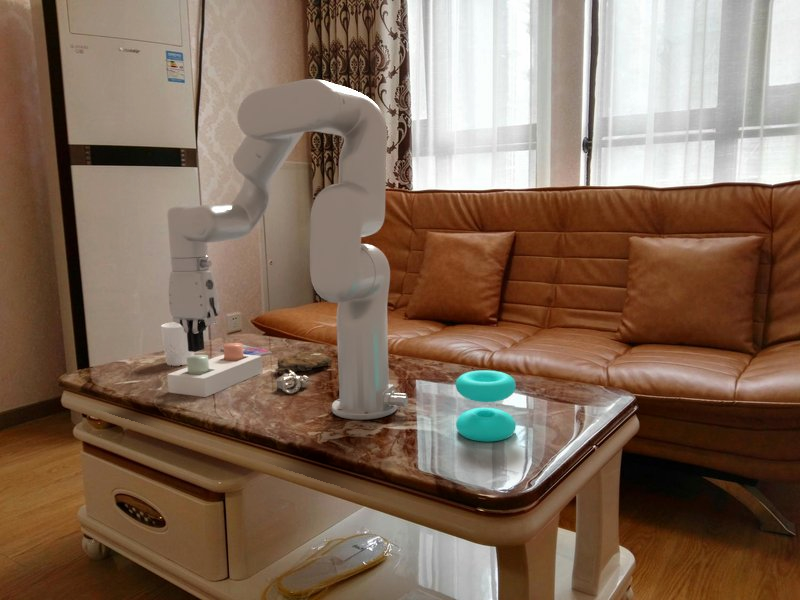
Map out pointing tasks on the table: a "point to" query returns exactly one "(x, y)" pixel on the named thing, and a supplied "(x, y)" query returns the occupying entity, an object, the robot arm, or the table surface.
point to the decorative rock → (302, 362)
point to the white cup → (175, 344)
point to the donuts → (485, 420)
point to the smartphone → (254, 351)
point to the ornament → (291, 382)
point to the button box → (215, 376)
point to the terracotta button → (233, 352)
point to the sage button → (197, 364)
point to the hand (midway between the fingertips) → (196, 350)
